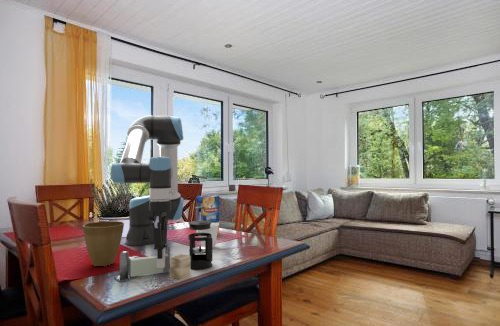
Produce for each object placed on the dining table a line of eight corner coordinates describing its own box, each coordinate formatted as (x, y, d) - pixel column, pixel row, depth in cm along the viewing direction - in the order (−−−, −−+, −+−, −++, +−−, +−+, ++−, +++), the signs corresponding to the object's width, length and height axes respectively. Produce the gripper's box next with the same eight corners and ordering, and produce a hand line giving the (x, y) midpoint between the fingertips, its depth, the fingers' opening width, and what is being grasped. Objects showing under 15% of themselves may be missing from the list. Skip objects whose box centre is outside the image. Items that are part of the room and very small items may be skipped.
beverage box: (219, 234, 177) (219, 195, 178) (203, 237, 170) (203, 197, 170) (212, 232, 182) (212, 195, 183) (196, 235, 175) (196, 196, 175)
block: (169, 277, 109) (169, 257, 109) (179, 273, 113) (179, 253, 113) (181, 280, 106) (181, 259, 106) (190, 275, 111) (190, 255, 111)
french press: (181, 265, 121) (181, 206, 122) (200, 260, 128) (200, 204, 129) (200, 272, 113) (200, 209, 114) (220, 266, 120) (220, 206, 121)
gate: (130, 277, 107) (130, 260, 107) (130, 274, 109) (130, 258, 109) (169, 271, 113) (169, 255, 113) (167, 269, 115) (167, 253, 115)
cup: (215, 250, 143) (215, 226, 144) (195, 249, 145) (195, 225, 146) (221, 245, 153) (221, 222, 153) (202, 244, 155) (202, 222, 155)
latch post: (164, 269, 117) (164, 248, 117) (159, 267, 119) (159, 246, 119) (174, 267, 119) (174, 246, 120) (168, 265, 122) (168, 244, 122)
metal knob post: (120, 282, 104) (120, 255, 104) (112, 278, 108) (112, 252, 108) (144, 276, 110) (144, 250, 110) (136, 272, 114) (136, 247, 114)
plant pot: (121, 268, 119) (122, 226, 119) (78, 271, 114) (78, 228, 115) (125, 257, 133) (125, 219, 133) (87, 260, 129) (87, 221, 129)
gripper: (166, 201, 105) (167, 272, 104) (175, 198, 117) (175, 261, 117) (144, 202, 104) (144, 273, 104) (155, 198, 117) (155, 262, 117)
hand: (160, 267), depth 110 cm, fingers closed
